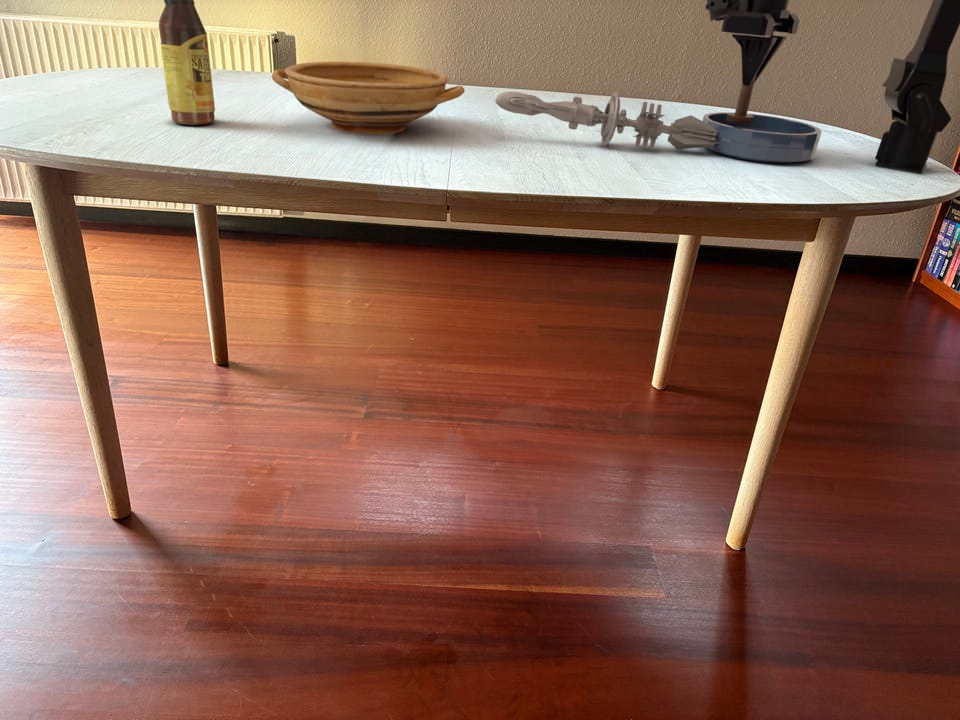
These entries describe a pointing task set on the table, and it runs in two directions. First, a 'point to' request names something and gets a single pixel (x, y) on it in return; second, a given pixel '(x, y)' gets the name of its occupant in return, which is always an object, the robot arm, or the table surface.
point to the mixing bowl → (764, 138)
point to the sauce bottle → (186, 64)
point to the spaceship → (615, 120)
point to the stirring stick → (742, 106)
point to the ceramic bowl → (366, 93)
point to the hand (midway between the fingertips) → (748, 84)
